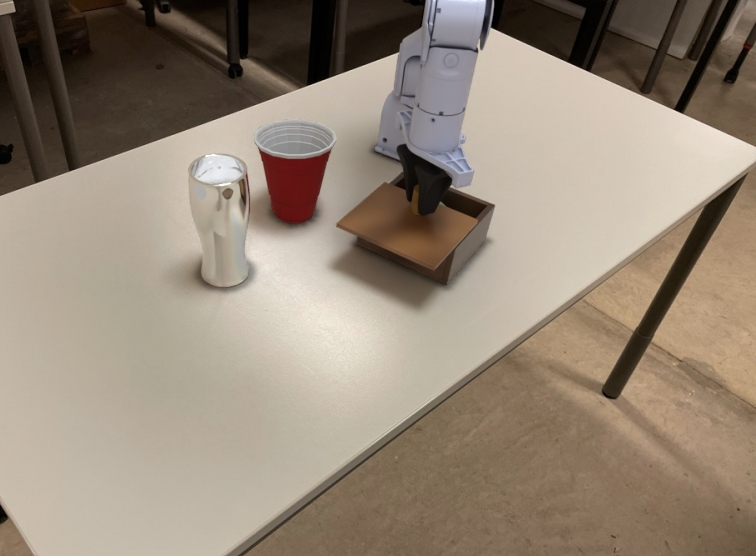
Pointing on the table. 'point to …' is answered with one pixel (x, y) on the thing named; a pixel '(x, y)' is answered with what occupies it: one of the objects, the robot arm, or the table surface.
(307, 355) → the table surface
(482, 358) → the table surface
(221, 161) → the beer glass
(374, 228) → the lid
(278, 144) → the plastic cup
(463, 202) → the box
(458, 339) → the table surface
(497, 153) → the table surface
